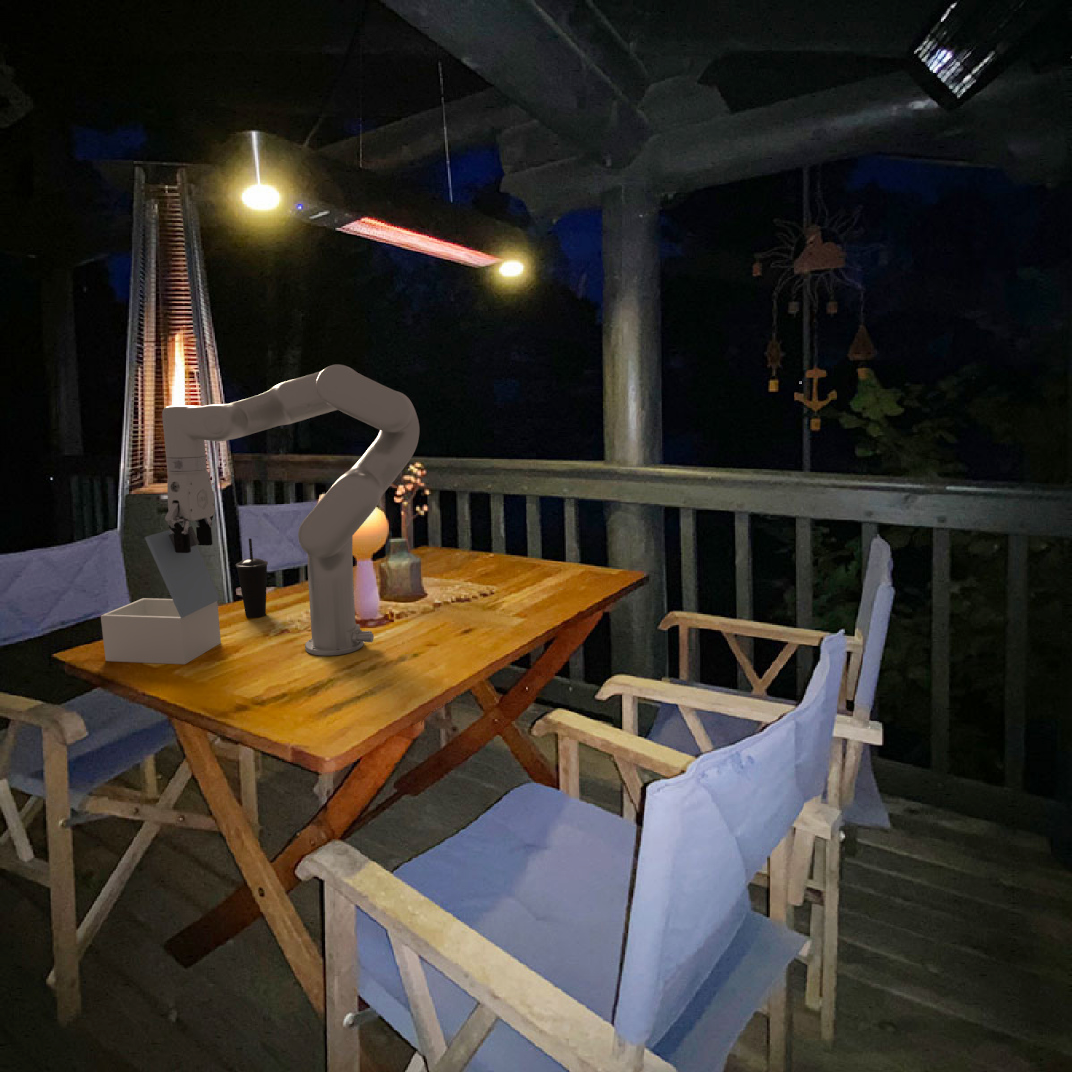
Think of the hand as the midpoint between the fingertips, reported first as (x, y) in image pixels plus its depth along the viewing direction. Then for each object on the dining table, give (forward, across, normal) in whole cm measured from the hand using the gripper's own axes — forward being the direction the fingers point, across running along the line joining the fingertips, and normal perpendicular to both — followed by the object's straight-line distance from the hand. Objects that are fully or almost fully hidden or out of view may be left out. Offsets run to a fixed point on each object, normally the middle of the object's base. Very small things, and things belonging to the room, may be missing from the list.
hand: (194, 548), depth 159 cm
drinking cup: (+24, +29, +3) cm, 37 cm away
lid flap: (+5, 0, +3) cm, 6 cm away
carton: (+23, 0, +9) cm, 25 cm away
